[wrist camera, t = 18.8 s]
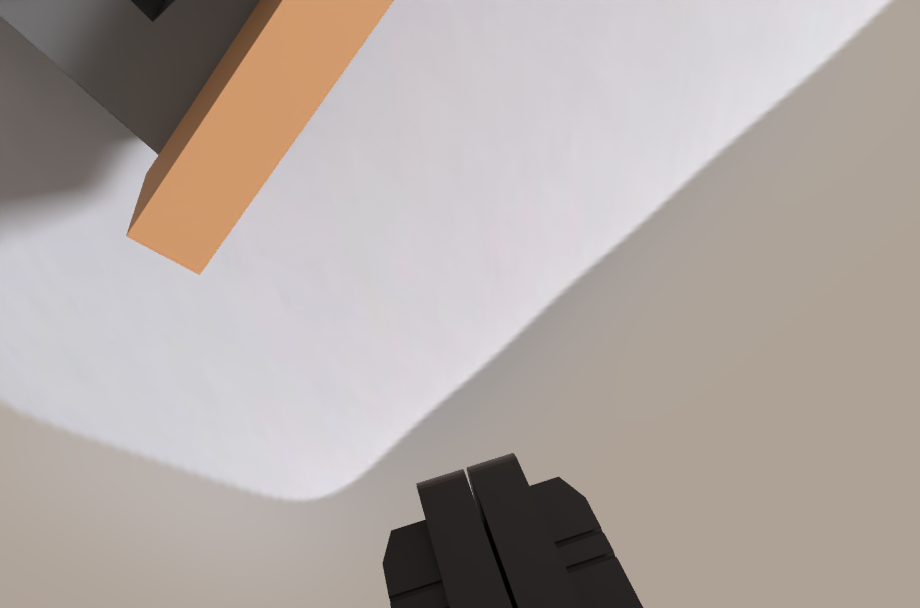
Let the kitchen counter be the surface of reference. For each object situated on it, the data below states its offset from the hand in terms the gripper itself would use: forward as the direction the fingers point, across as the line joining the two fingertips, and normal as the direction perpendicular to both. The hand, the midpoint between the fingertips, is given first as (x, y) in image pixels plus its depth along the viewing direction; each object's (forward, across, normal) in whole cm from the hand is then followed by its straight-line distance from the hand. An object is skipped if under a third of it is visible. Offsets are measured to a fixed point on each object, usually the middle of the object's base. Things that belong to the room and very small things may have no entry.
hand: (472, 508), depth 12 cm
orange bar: (+13, +1, -5) cm, 14 cm away
